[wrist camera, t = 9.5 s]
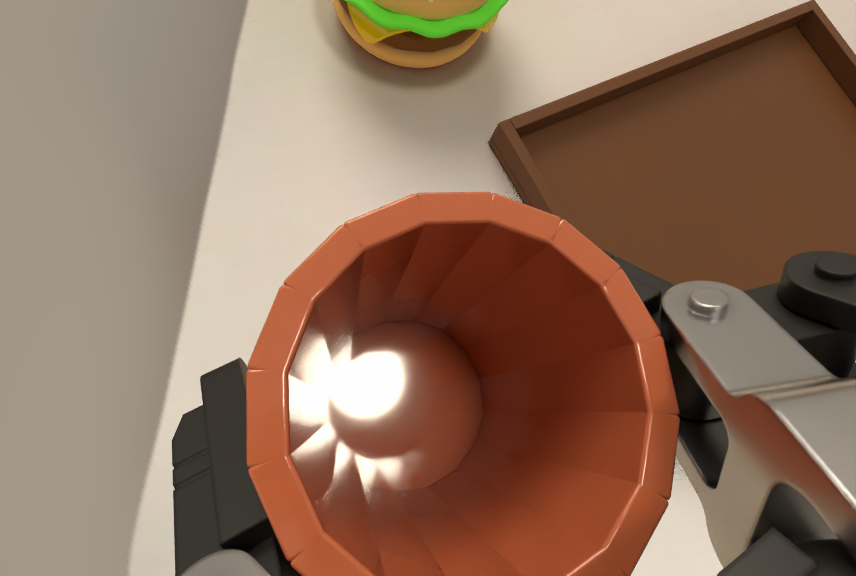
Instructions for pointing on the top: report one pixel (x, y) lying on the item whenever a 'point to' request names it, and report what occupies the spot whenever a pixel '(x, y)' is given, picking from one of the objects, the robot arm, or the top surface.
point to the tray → (705, 154)
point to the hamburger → (417, 27)
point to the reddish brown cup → (460, 399)
